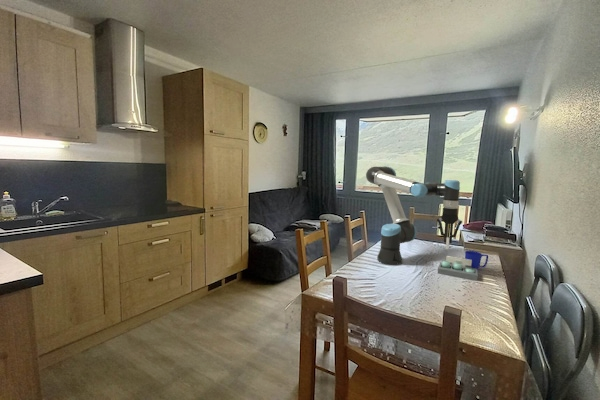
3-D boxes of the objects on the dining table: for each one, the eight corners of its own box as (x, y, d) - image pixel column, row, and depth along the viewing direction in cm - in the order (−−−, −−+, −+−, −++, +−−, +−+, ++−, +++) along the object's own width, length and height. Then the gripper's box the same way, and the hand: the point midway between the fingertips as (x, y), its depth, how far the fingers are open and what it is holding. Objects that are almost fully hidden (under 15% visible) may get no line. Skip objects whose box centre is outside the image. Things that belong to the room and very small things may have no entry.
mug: (490, 272, 159) (491, 256, 158) (466, 271, 162) (468, 254, 160) (483, 267, 167) (485, 251, 166) (461, 266, 170) (463, 250, 168)
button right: (464, 275, 154) (465, 270, 153) (465, 272, 157) (465, 267, 157) (474, 277, 151) (474, 271, 151) (474, 274, 155) (474, 269, 155)
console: (437, 273, 158) (437, 268, 157) (439, 267, 168) (440, 262, 167) (477, 280, 148) (477, 275, 147) (476, 273, 158) (477, 268, 157)
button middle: (452, 269, 157) (453, 264, 156) (453, 267, 160) (453, 262, 160) (461, 271, 154) (462, 266, 154) (462, 268, 158) (462, 263, 158)
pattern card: (445, 267, 167) (446, 256, 166) (445, 267, 168) (446, 255, 167) (470, 272, 160) (471, 260, 159) (470, 271, 161) (471, 259, 160)
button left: (441, 267, 160) (441, 262, 159) (441, 265, 164) (442, 260, 163) (449, 269, 158) (450, 264, 157) (450, 266, 161) (450, 261, 161)
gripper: (436, 207, 156) (434, 248, 159) (463, 209, 150) (460, 251, 153) (438, 205, 163) (435, 244, 166) (464, 207, 156) (460, 248, 159)
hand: (447, 248), depth 159 cm, fingers closed
